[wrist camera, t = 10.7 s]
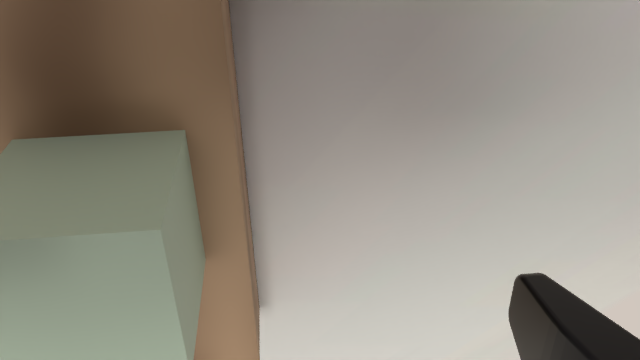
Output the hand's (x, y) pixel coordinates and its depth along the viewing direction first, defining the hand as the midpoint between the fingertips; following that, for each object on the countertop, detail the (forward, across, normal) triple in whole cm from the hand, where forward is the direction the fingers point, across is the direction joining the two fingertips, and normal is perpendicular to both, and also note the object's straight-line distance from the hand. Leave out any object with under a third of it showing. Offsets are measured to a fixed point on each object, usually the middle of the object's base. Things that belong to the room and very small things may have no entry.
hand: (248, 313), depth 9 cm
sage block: (+8, +5, +3) cm, 10 cm away
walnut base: (+12, +5, +3) cm, 13 cm away
